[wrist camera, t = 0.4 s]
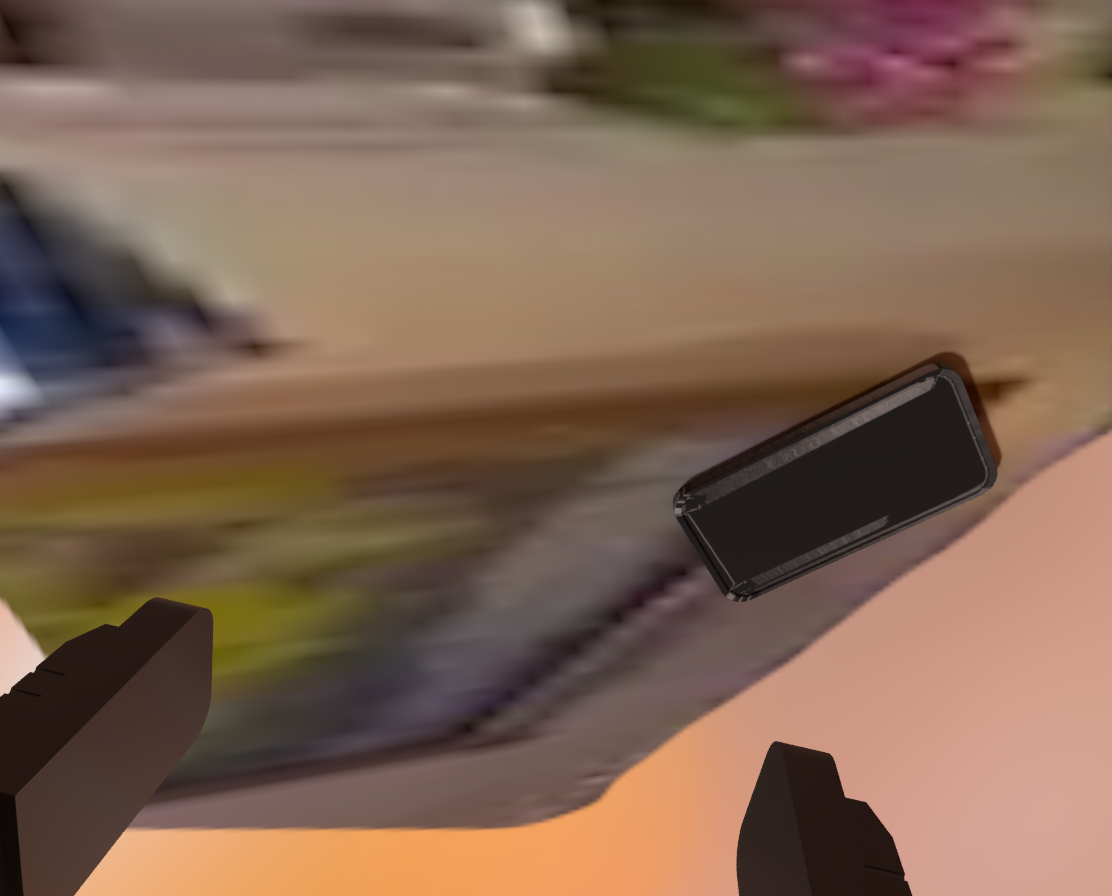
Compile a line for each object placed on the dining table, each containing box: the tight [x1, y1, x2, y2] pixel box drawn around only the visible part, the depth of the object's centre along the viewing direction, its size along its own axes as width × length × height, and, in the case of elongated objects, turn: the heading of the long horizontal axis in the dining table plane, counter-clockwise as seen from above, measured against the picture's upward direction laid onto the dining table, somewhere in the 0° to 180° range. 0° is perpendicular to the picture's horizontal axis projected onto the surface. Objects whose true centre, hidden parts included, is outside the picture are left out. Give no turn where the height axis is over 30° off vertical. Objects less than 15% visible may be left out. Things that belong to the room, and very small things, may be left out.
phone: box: [673, 363, 997, 602], centre depth 41 cm, size 8×1×15 cm
